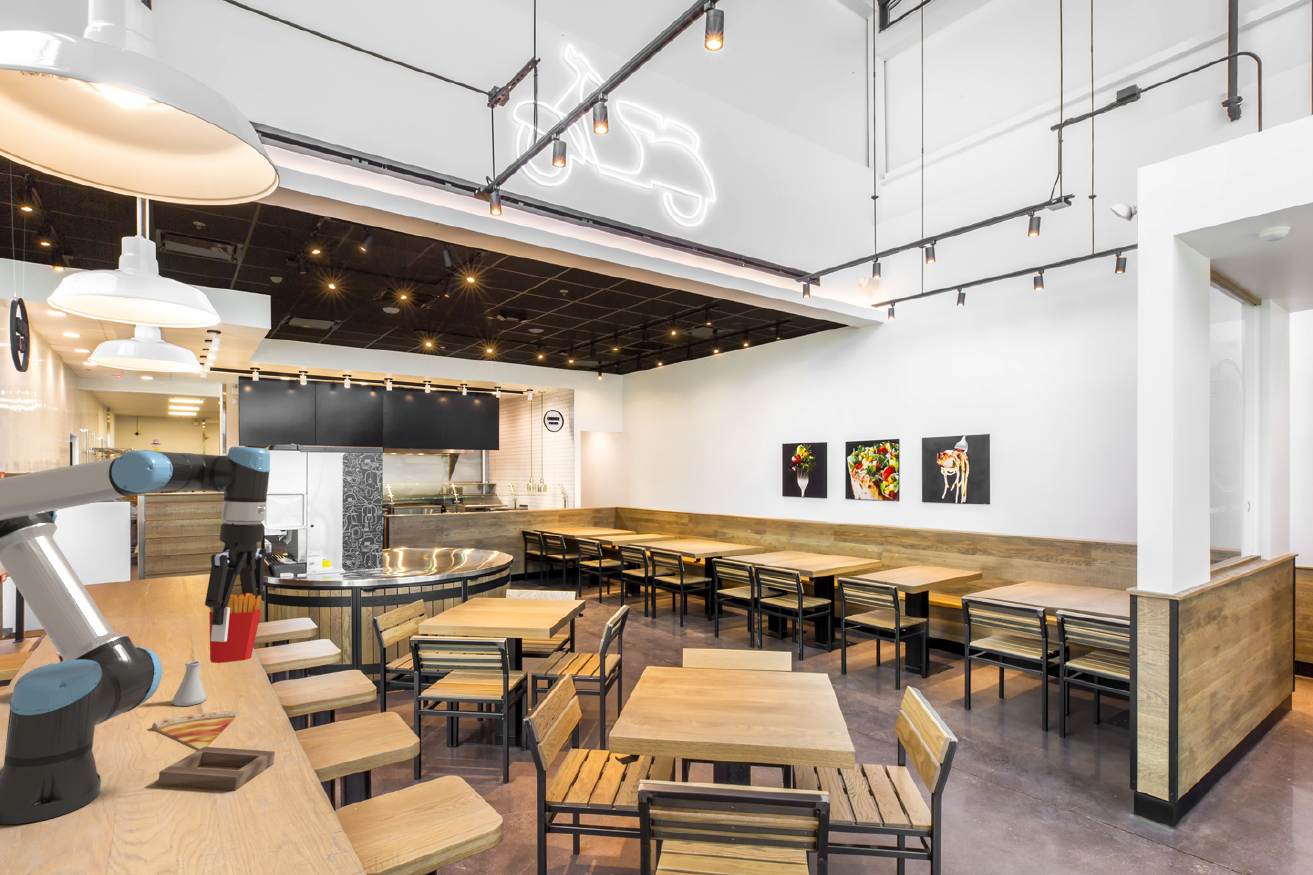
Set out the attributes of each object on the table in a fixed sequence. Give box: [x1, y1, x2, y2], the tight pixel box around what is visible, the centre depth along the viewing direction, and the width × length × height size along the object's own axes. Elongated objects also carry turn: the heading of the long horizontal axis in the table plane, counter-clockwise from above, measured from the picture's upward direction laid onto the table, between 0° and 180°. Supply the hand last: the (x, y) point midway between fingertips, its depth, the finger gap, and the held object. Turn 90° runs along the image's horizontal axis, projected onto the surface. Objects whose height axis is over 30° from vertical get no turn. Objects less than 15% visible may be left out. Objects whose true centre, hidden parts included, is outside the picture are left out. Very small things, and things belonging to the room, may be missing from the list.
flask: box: [170, 660, 208, 707], centre depth 169 cm, size 7×7×10 cm
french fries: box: [208, 593, 263, 664], centre depth 132 cm, size 9×4×13 cm, turn 130°
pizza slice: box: [151, 710, 240, 751], centre depth 148 cm, size 16×22×2 cm
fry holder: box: [157, 746, 276, 791], centre depth 130 cm, size 12×15×2 cm
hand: (231, 636), depth 132 cm, fingers closed on french fries, 7 cm apart
